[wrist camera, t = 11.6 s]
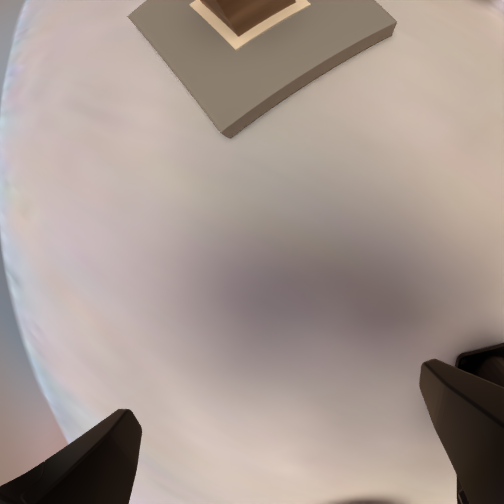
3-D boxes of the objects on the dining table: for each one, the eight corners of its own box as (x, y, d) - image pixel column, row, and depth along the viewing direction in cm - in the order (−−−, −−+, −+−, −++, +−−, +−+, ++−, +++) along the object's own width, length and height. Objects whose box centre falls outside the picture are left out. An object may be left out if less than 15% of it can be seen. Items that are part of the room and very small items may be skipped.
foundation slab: (391, 35, 15) (397, 20, 13) (230, 138, 19) (219, 132, 17) (271, -59, 15) (267, -74, 13) (139, 26, 19) (126, 15, 17)
